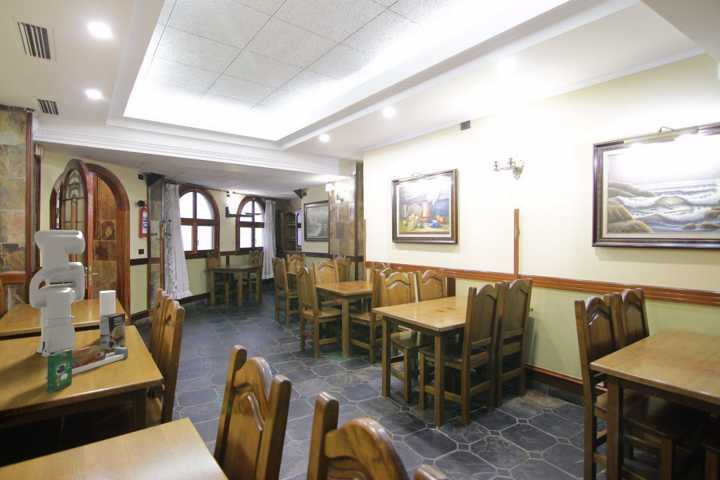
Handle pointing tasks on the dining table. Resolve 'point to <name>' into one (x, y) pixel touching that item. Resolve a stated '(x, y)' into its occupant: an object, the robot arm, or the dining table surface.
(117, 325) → the coffee box
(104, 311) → the cylindrical container
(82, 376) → the dining table surface
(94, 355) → the tin
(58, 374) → the coffee box
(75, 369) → the guide track
